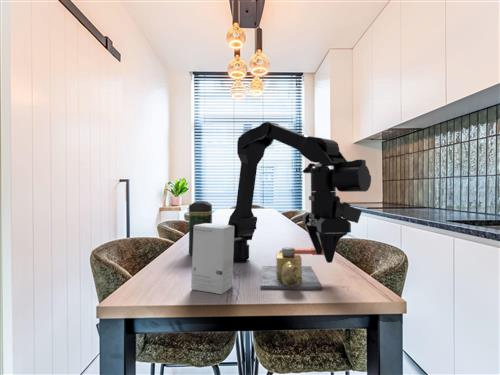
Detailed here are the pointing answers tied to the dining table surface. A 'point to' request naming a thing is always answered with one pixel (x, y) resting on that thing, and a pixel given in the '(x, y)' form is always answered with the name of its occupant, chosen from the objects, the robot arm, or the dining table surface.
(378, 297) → the dining table surface
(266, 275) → the valve body
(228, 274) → the skincare box
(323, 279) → the dining table surface
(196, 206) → the coffee jar
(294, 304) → the dining table surface
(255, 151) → the robot arm
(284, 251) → the lever
